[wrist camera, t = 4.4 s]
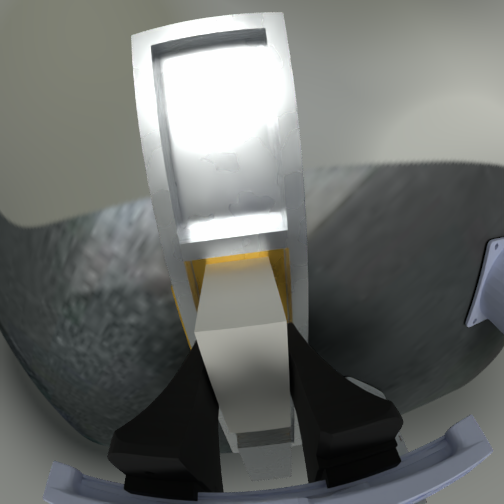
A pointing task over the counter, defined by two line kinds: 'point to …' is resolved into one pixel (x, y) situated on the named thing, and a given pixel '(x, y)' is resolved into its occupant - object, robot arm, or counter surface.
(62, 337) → the counter surface
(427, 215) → the counter surface
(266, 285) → the tall white prism
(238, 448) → the tray
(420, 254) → the counter surface
